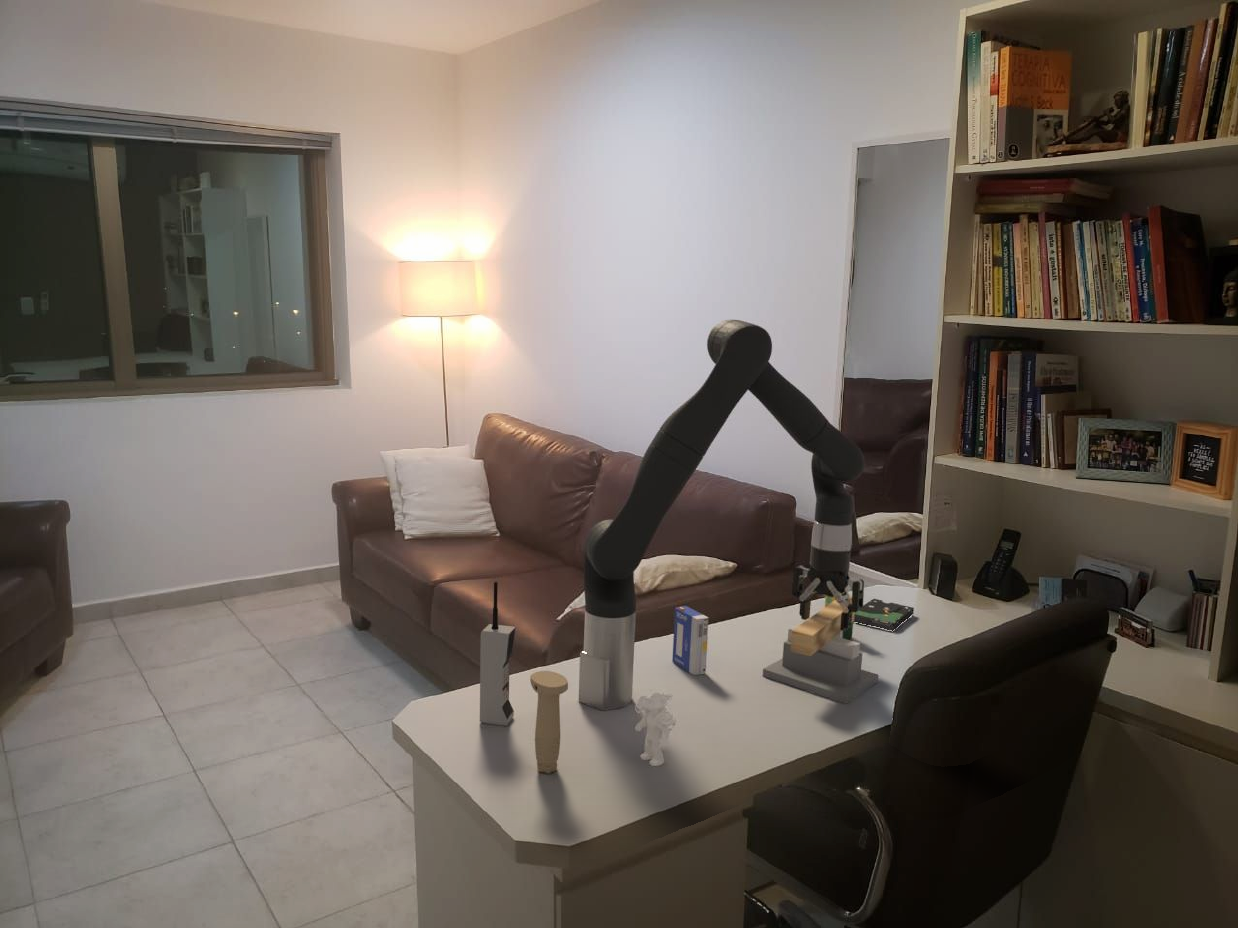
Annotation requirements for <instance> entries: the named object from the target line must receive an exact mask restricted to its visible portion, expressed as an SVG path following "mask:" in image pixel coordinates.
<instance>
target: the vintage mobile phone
mask: <svg viewBox="0 0 1238 928" xmlns="http://www.w3.org/2000/svg"><path fill="white" fill-rule="evenodd" d="M498 584H499V583H498V581H494V582H493V607H492V623H489V624H487V626H486V627H484V629H483V630H482V631H481V632H480V665H479V667H480V669H479V670H480V671H479V676H480V677H479V723H481V724H488V725H496V726H503V727H506V726H508V724H509V723H510V722H511V720H512V719H513V718H514V717H515V711H514V709H513V706H512V704H511V702H510V665H511V664H510V663H511V662H510V659H511V656H513V652H514V644H515V638H516V637H515V635H516V626H512V625H511V626H510V625H502V624H499V622H498V621H499V619H498V618H499V610H498V608H499V607H498Z"/></svg>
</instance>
